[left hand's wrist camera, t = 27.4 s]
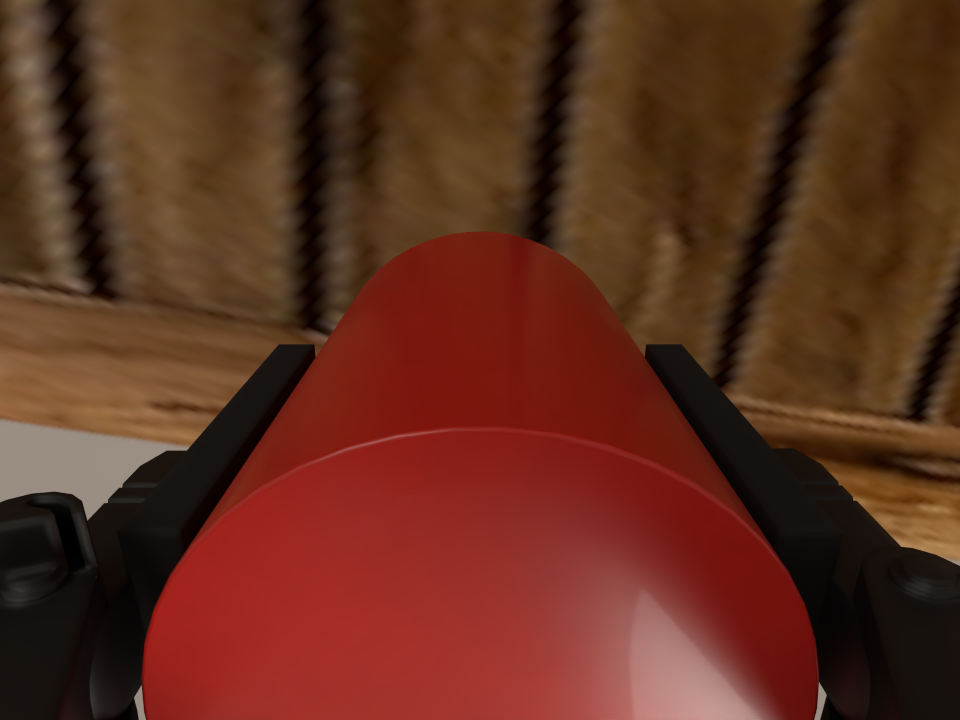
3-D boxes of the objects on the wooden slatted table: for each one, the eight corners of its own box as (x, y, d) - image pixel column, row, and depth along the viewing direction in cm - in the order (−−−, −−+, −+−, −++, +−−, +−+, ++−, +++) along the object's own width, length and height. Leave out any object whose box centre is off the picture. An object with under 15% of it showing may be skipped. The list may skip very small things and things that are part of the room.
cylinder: (678, 311, 15) (971, 604, 6) (539, 534, 18) (604, 986, 8) (405, 176, 14) (273, 292, 5) (295, 434, 16) (69, 830, 7)
